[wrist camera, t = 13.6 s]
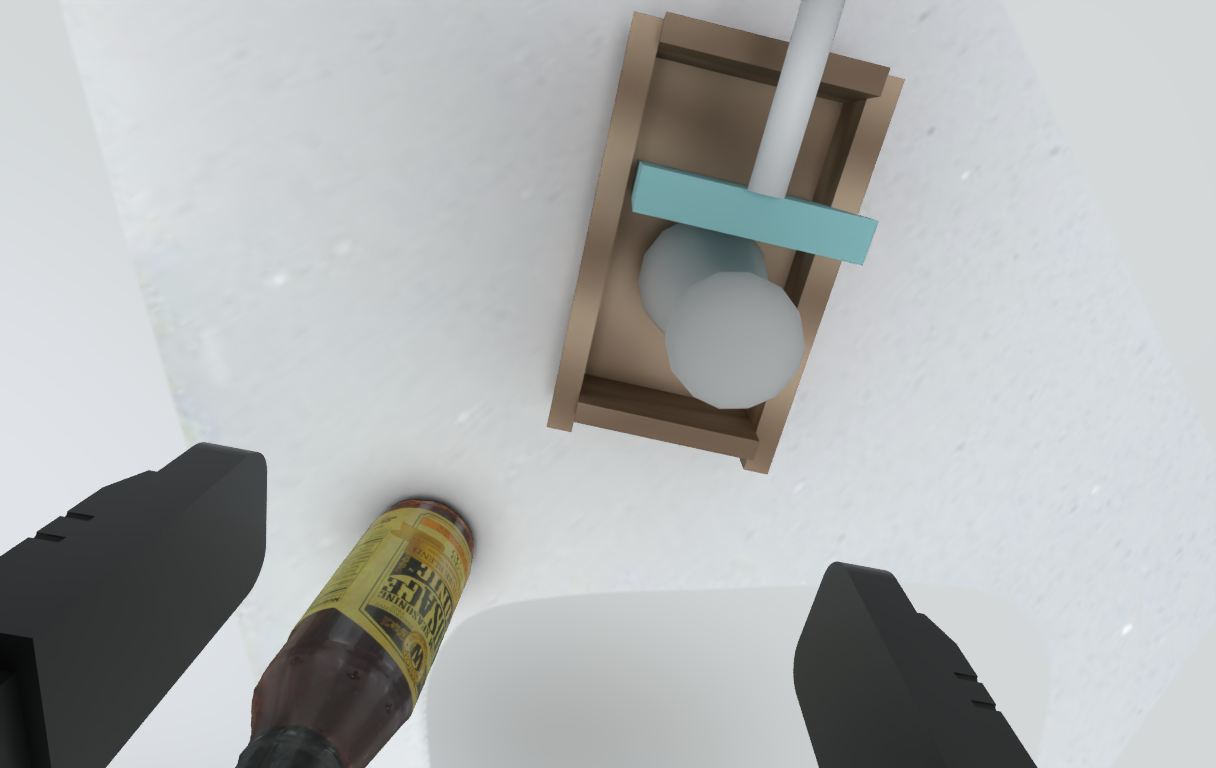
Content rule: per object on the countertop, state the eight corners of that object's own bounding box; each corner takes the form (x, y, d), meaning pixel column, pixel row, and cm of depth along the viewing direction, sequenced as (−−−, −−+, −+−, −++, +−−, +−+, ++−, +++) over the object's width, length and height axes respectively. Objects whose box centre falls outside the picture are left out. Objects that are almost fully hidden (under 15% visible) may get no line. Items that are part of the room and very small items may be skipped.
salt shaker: (730, 189, 30) (800, 219, 18) (775, 298, 32) (868, 393, 20) (616, 245, 31) (610, 310, 19) (666, 348, 33) (690, 468, 21)
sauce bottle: (492, 570, 39) (370, 958, 20) (396, 591, 40) (192, 985, 21) (455, 476, 37) (281, 813, 18) (354, 500, 38) (86, 849, 19)
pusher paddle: (671, 13, 28) (696, -57, 18) (852, 58, 28) (970, 13, 18) (630, 192, 30) (632, 215, 21) (797, 232, 31) (875, 271, 21)
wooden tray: (632, 28, 29) (634, 3, 24) (869, 87, 30) (921, 75, 24) (555, 396, 35) (543, 440, 30) (752, 439, 36) (773, 489, 31)
